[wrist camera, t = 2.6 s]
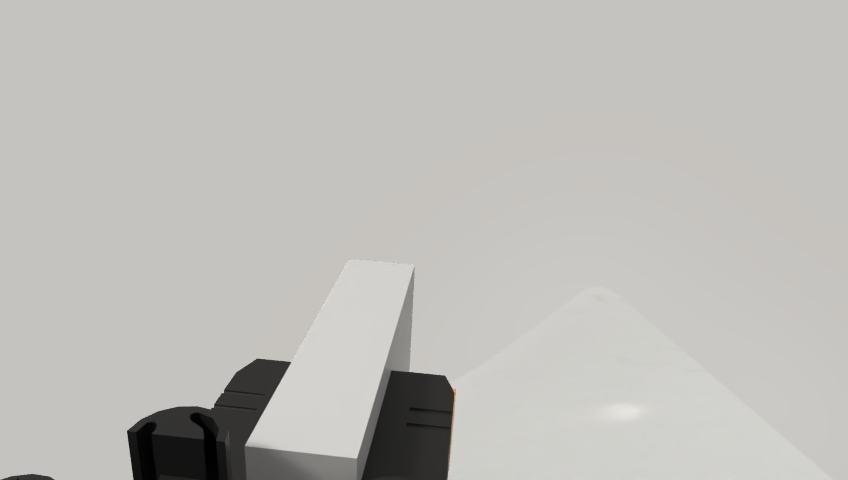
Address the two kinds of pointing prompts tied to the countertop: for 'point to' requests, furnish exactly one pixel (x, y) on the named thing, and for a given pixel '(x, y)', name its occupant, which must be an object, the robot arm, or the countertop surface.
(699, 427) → the countertop surface
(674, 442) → the countertop surface
